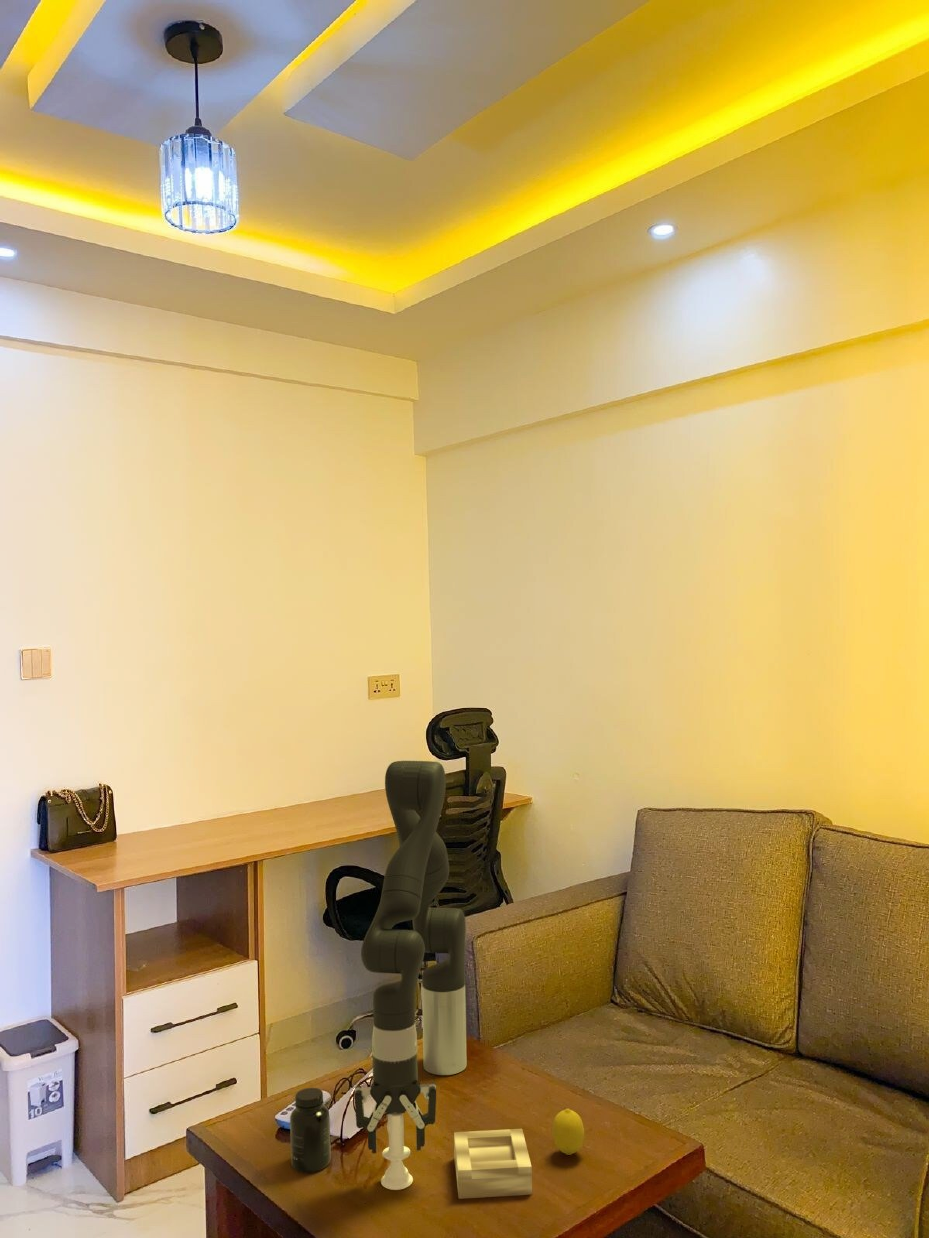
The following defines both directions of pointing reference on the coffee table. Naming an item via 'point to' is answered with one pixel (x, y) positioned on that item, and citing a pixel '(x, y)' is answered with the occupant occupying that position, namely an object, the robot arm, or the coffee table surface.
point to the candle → (396, 1155)
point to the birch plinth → (492, 1163)
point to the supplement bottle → (310, 1132)
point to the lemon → (568, 1131)
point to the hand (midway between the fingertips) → (396, 1149)
